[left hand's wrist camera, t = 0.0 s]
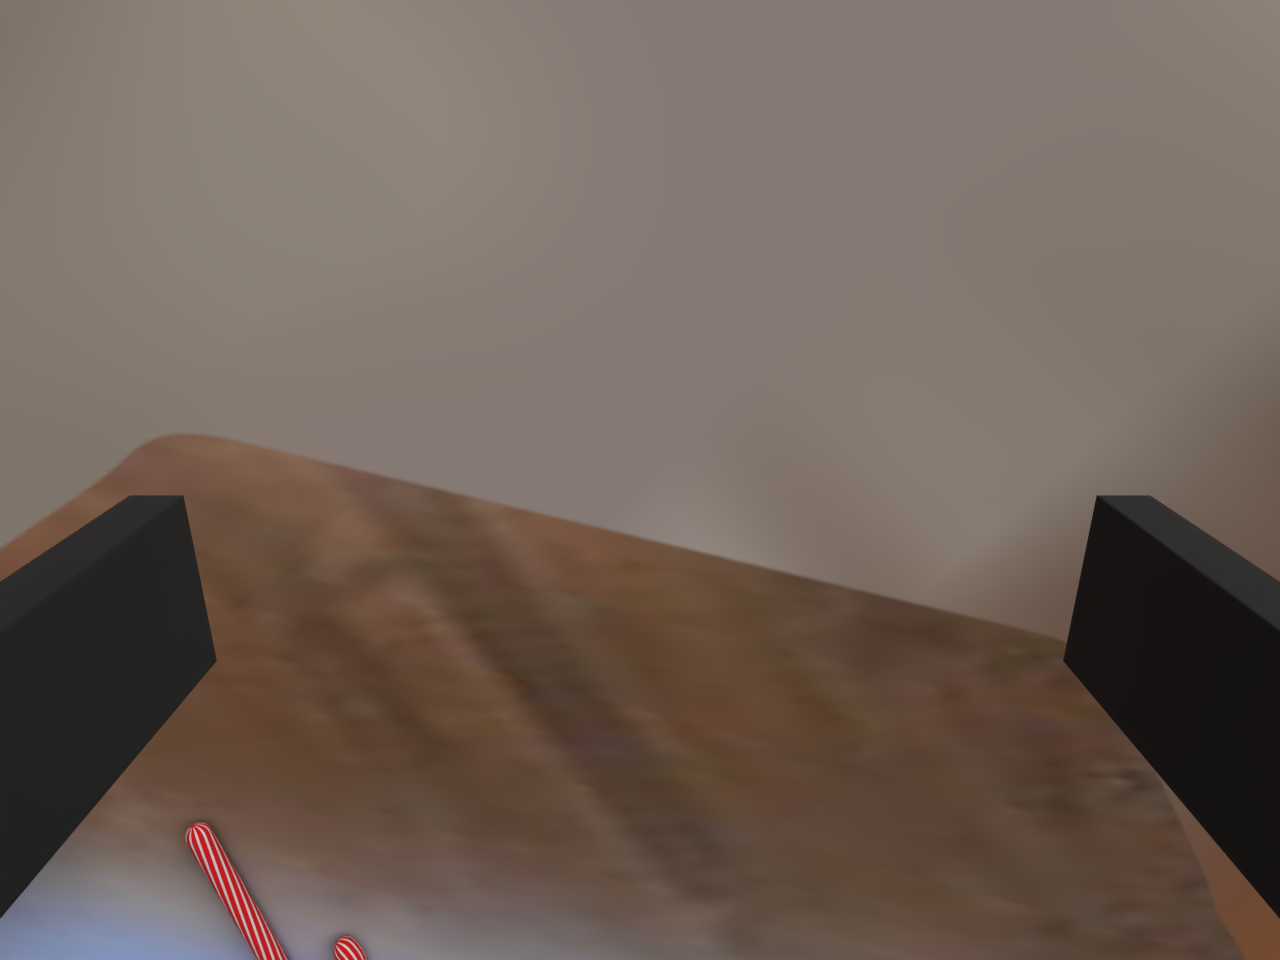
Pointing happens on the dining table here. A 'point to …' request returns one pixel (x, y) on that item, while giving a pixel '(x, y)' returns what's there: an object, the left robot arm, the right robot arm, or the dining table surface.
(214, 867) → the candy cane
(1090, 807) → the dining table surface
